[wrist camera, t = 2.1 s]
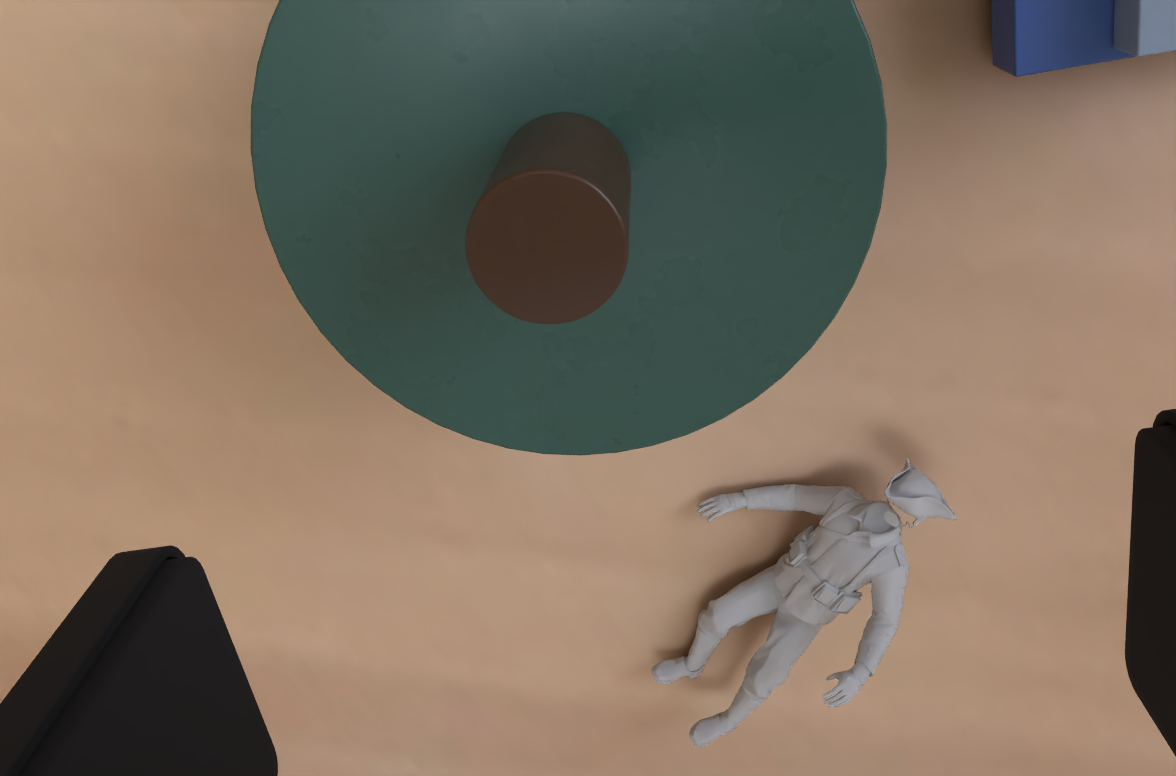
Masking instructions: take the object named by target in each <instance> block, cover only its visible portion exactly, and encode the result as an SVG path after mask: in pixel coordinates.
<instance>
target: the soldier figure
mask: <svg viewBox="0 0 1176 776" xmlns="http://www.w3.org/2000/svg"><path fill="white" fill-rule="evenodd" d="M884 494H885V496H886V497H887V498H888V499H889V500H890V501H891V502H893V504H895V505H896V506H897V507H898V508H899V509H901V510H902V511H904V512H905V513H907V514H909V515H912V516H913V517H915V518H916V520H917V521H916V520H915V521H916V522H915V526H916V525H917V524H918V523H920V522H922V521H923V520H924V519H926V518H946V519H951V520H956V518H955V514H954V512H953V511H952V509H951V508H950V507H949V505H948V504H947V503H946V501H945V499H944V497H943V495H942V493H941V491H940V490H939V488H938V487H937V485H936V484H935V483H934V482H933V481H932V480H931V479H930V478H929V477H928V476H927V475H925V474H924V473H923V472H921V471H919V470H918V469H917V468H915V467H914V466H913V465H911V464H910V460H909V459H907V460H906V464H905V467H904V468H903V470H902V471H901V472H900V473H898V474H896V475H895V476H894V477H893V478H892V480H891V481H890V482H889V483H888V485H887V489H886V490H885V492H884ZM888 499H887V500H888ZM707 503H708V504H707ZM705 504H706V505H705ZM703 505H704V506H703ZM701 506H703V507H701ZM714 506H715V507H714ZM697 507H701V508H700V509H698V510H697V512H698V513H699V512H702V511H704V510H705V509H708V508H711V507H713V508H711V509H709V510H707V511H705V512H703V513H702V514H701V515H700V517H701V518H702V517H704V516H707V515H709V514H711V513H713V512H716V511H718V512H716V513H714V514H713V515H711V516H710V517H709V518H707V521H708V522H709V521H711V520H713V519H715V518H716V517H718V516H720V515H722V514H725V513H728V512H731V511H734V510H736V509H739V508H742V507H746V509H747V510H757V509H758V510H770V509H772V510H778V511H793V510H798V511H802V510H803V511H806V512H810V513H813V514H815V515H822V516H823V517H822V519H821V520H820V524H819V525H818V526H817V528H816V529H814V527H813V525H811V526H809V527H808V528H806V529H805V530H803V531H802V532H801V533H800V534H798V535H797V536H796V537H795V539H794V540H793V542H792V543H791V544H790V547H791V549H790V550H789V553H786V554H784V555H783V556H781V557H780V559H779V560H778V562H777V564H775V565H773V566H771V567H769V568H767V569H765V570H763V571H761V572H760V573H758V574H756V575H755V576H753V577H751V578H750V579H748V580H746V581H744V582H741V583H739V584H738V585H737V586H735V587H734V588H733V589H731V590H730V591H729V592H727V593H726V594H725V595H723V596H722V597H720V598H718V599H716V600H711V601H710V602H709V605H708V608H707V610H703V611H702V612H700V614H699V616H698V617H697V621H698V627H697V631H696V636H695V640H694V642H693V644H692V646H691V648H690V650H689V656H683V657H680V658H675V659H667V660H663V661H661V662H660V663H658V664H657V665H655V666H654V667H653V668H652V673H653V676H654V678H655V680H656V681H657V682H659V683H662V684H669V683H672V682H673V681H675V680H677V679H679V678H681V677H685V676H687V677H688V678H696V677H697V676H699V674H700V673H701V672H702V671H703V669H704V666H705V662H706V661H707V659H708V658H709V656H710V654H711V653H712V651H713V650H714V648H715V647H716V646H717V645H718V644H719V642H720V641H721V640H722V638H723V637H724V636H725V635H727V634H728V631H729V628H730V627H733V626H736V627H737V626H742V625H743V624H745V623H746V622H748V621H749V620H750V619H752V618H754V617H757V616H762V615H765V614H768V613H772V612H776V611H777V612H776V615H775V618H774V621H773V623H772V626H771V629H770V631H769V634H768V637H767V640H766V642H765V644H764V645H763V646H762V647H761V648H760V649H759V650H758V651H757V652H756V653H755V655H754V656H753V658H752V659H751V661H750V663H749V664H748V667H747V669H746V676H745V678H744V681H743V683H742V686H741V687H740V689H739V691H738V693H737V694H736V696H735V698H734V700H733V702H732V704H731V706H730V707H729V709H728V710H726V711H725V712H721V713H718V714H716V715H714V716H712V717H709V718H705V719H702V720H700V721H698V722H697V723H696V724H694V725H693V727H692V728H691V729H690V732H689V735H690V738H691V740H692V742H693V743H694V745H696V746H697V747H703V746H706V745H708V744H709V743H710V742H712V741H713V740H714V739H716V738H717V737H719V736H721V735H723V734H727V733H730V732H732V731H733V730H734V729H736V727H737V725H738V723H740V721H741V720H743V719H745V718H746V717H747V716H748V715H749V713H751V712H752V711H753V710H754V709H756V708H757V707H758V706H760V705H761V704H762V703H763V702H764V701H765V700H766V699H767V697H768V696H769V694H770V693H771V692H772V691H773V690H774V689H775V688H776V687H777V686H779V685H781V684H782V683H784V681H785V680H786V679H787V677H788V675H789V672H790V669H791V666H792V665H793V664H794V663H795V662H796V661H797V659H798V658H799V657H800V656H801V655H802V653H803V652H804V651H805V649H806V648H807V647H808V645H809V644H810V643H811V641H812V640H813V639H814V637H815V636H816V635H817V633H818V631H819V630H820V628H821V626H822V625H824V624H828V623H830V622H831V621H833V620H834V618H835V617H836V616H837V614H838V613H845V614H847V613H848V612H849V611H850V610H851V609H852V608H853V607H854V606H855V605H856V604H857V603H858V602H859V601H860V600H861V598H860V597H861V596H862V594H861V592H856V591H857V590H858V589H860V588H861V587H862V586H864V585H866V584H868V583H872V589H871V593H872V602H873V611H872V616H871V618H870V619H869V620H868V622H867V625H866V627H865V628H864V631H863V636H862V639H861V641H860V643H859V646H858V652H857V655H856V659H855V662H854V663H855V665H854V666H853V667H852V668H851V669H850V670H847V671H843V672H837V673H834V674H832V675H830V676H829V677H827V679H826V680H832V679H834V678H837V679H838V680H839V682H838V685H837V686H836V687H834V688H833V689H832V690H831V691H829V692H827V693H825V694H823V695H822V698H827V697H830V696H832V695H834V694H836V693H837V692H838V693H837V694H836V695H835V696H833V697H831V698H829V699H827V700H825V701H824V704H828V703H829V704H828V705H827V706H828V707H832V706H833V707H838V706H841V705H843V704H845V703H846V702H848V701H849V700H851V699H852V698H853V697H854V696H855V695H856V694H857V693H858V691H859V689H860V688H861V686H863V684H864V683H865V682H866V681H867V679H868V677H869V676H873V674H874V671H875V669H876V667H877V666H878V664H879V662H880V660H881V658H882V657H883V655H884V653H885V651H886V650H887V648H888V646H889V644H890V641H891V640H892V638H893V637H894V635H895V631H896V630H897V628H898V624H899V618H900V613H901V611H902V605H903V591H904V589H905V588H906V581H907V574H908V571H909V563H908V560H907V557H906V554H905V551H904V547H903V545H902V542H901V540H902V534H901V532H900V527H901V531H902V526H901V520H900V517H899V515H898V514H897V513H896V512H895V511H894V510H893V509H892V507H891V506H890V505H889V502H888V503H887V502H885V501H873V500H868V499H865V498H864V497H863V495H862V494H860V493H858V492H857V491H856V490H855V489H854V488H852V487H850V486H848V487H844V486H842V487H836V486H827V487H825V486H816V485H810V486H807V485H797V484H785V485H781V486H778V485H774V486H764V487H758V488H752V489H743V490H742V491H741V492H739V493H738V492H735V493H731V494H720V495H717V496H714V497H711V498H709V499H706V500H704V501H702V502H701V503H699V504H698V505H697ZM908 524H909V523H908ZM906 525H907V522H906ZM906 525H905V526H906ZM913 525H914V522H913ZM903 526H904V525H903ZM912 527H913V526H912ZM912 527H911V528H912ZM909 528H910V525H909ZM837 699H838V700H837ZM835 700H836V701H835ZM832 701H834V702H832ZM830 702H831V703H830Z"/></svg>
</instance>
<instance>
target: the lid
mask: <svg viewBox="0 0 1176 776" xmlns="http://www.w3.org/2000/svg"><path fill="white" fill-rule="evenodd" d="M251 155H252V163H253V172H254V180H255V188H256V193H257V197H258V201H259V205H260V209H261V213H262V217H263V221H264V225H265V229H266V231H267V234H268V236H269V239H270V241H271V244H272V247H273V249H274V252H275V254H276V257H277V259H278V262H279V265H280V267H281V269H282V271H283V272H284V274H285V276H286V278H287V280H288V282H289V284H290V285H291V287H292V289H293V291H294V293H295V295H296V297H297V299H298V300H299V302H300V303H301V305H302V306H303V307H304V309H305V310H306V312H307V313H308V315H309V316H310V317H311V319H312V320H313V322H314V323H315V325H316V326H317V327H318V329H319V330H320V332H321V333H322V334H323V335H324V336H325V337H326V338H327V340H328V341H329V342H330V343H331V344H332V345H333V346H334V347H335V349H336V350H337V351H338V352H339V353H340V354H341V355H342V356H343V357H344V359H345V360H346V361H347V362H348V363H350V364H351V365H352V366H353V367H354V368H355V369H356V370H357V371H359V372H360V373H361V374H362V375H363V376H364V377H365V378H367V379H368V380H369V381H370V382H371V383H372V384H373V385H374V386H376V387H377V388H379V389H380V390H382V391H383V392H384V393H386V394H387V395H389V396H390V397H392V398H393V399H394V400H396V401H397V402H399V403H400V404H402V405H403V406H404V407H406V408H408V409H410V410H412V411H413V412H415V413H417V414H419V415H421V416H423V417H425V418H426V419H428V420H430V421H432V422H434V423H436V424H438V425H440V426H442V427H445V428H447V429H450V430H452V431H455V432H457V433H460V434H462V435H465V436H467V437H470V438H472V439H476V440H480V441H483V442H487V443H491V444H494V445H498V446H502V447H505V448H509V449H516V450H522V451H529V452H535V453H542V454H561V455H591V454H604V453H617V452H622V451H628V450H633V449H638V448H643V447H648V446H653V445H656V444H660V443H663V442H666V441H669V440H672V439H675V438H678V437H681V436H685V435H688V434H690V433H692V432H694V431H697V430H699V429H701V428H703V427H705V426H708V425H710V424H712V423H714V422H716V421H719V420H721V419H723V418H724V417H726V416H728V415H729V414H731V413H733V412H734V411H736V410H738V409H739V408H741V407H742V406H744V405H746V404H747V403H749V402H751V401H752V400H754V399H755V398H756V397H758V396H759V395H760V394H762V393H763V392H764V391H765V390H767V389H768V388H769V387H770V386H772V385H773V384H774V383H775V382H777V381H778V380H779V379H781V378H782V377H783V376H784V375H785V374H786V373H787V372H788V371H789V370H790V369H791V368H792V367H793V366H794V365H795V364H796V363H797V362H798V361H799V360H800V359H801V358H802V357H803V356H804V355H805V354H806V353H807V352H808V351H809V350H810V349H811V348H812V346H813V345H814V344H815V342H816V341H817V340H818V339H819V337H820V336H821V335H822V333H823V332H824V331H825V329H826V328H827V327H828V326H829V324H830V323H831V322H832V320H833V319H834V318H835V316H836V314H837V313H838V311H839V309H840V307H841V306H842V304H843V302H844V301H845V299H846V297H847V295H848V294H849V292H850V290H851V289H852V287H853V285H854V283H855V281H856V279H857V276H858V274H859V271H860V269H861V267H862V264H863V262H864V260H865V257H866V255H867V253H868V250H869V248H870V245H871V241H872V237H873V234H874V230H875V227H876V223H877V219H878V216H879V212H880V209H881V202H882V195H883V188H884V181H885V174H886V167H887V122H886V114H885V107H884V99H883V91H882V83H881V79H880V75H879V71H878V68H877V64H876V60H875V56H874V53H873V49H872V45H871V42H870V38H869V36H868V34H867V31H866V29H865V27H864V24H863V22H862V20H861V17H860V15H859V12H858V10H857V8H856V5H855V3H854V1H853V0H279V3H278V5H277V7H276V9H275V12H274V14H273V16H272V18H271V21H270V23H269V26H268V29H267V33H266V36H265V40H264V43H263V47H262V50H261V54H260V57H259V61H258V64H257V70H256V77H255V84H254V91H253V98H252V105H251Z"/></svg>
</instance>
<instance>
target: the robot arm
mask: <svg viewBox="0 0 1176 776" xmlns="http://www.w3.org/2000/svg"><path fill="white" fill-rule="evenodd" d="M1125 660H1126V666H1127V671H1128V675H1129V678H1130V681H1131V683H1132V686H1133V688H1134V690H1135V692H1136V694H1137V695H1138V697H1139V699H1140V700H1141V702H1142V703H1143V705H1144V707H1145V708H1146V710H1147V711H1148V713H1149V715H1150V716H1151V718H1152V719H1153V721H1154V723H1155V724H1156V726H1157V727H1158V729H1159V731H1160V732H1161V734H1162V735H1163V737H1164V738H1165V740H1166V742H1167V743H1168V745H1169V746H1170V748H1171V750H1172V751H1173V753H1174V754H1175V756H1176V409H1171V410H1164V411H1161V412H1160V413H1159V414H1158V415H1157V416H1156V419H1155V421H1154V423H1153V427H1152V428H1144V429H1141V430H1140V431H1139V432H1138V434H1137V437H1136V442H1135V456H1134V476H1133V497H1132V517H1131V538H1130V558H1129V579H1128V599H1127V620H1126V640H1125ZM277 774H278V762H277V755H276V751H275V748H274V745H273V743H272V740H271V738H270V735H269V733H268V730H267V728H266V725H265V723H264V720H263V718H262V715H261V713H260V710H259V707H258V705H257V702H256V700H255V697H254V695H253V692H252V690H251V687H250V685H249V682H248V680H247V677H246V675H245V672H244V670H243V667H242V665H241V662H240V660H239V657H238V655H237V652H236V650H235V647H234V645H233V642H232V640H231V637H230V635H229V632H228V630H227V627H226V624H225V622H224V619H223V617H222V614H221V612H220V609H219V607H218V604H217V602H216V599H215V597H214V594H213V592H212V589H211V587H210V584H209V582H208V579H207V577H206V574H205V572H204V569H203V567H202V565H201V564H200V562H199V561H198V560H197V559H196V558H193V557H185V555H184V554H183V553H182V552H181V551H180V550H179V549H178V548H177V547H174V546H164V547H157V548H149V549H142V550H134V551H127V552H121V553H117V554H115V555H114V556H113V557H112V558H111V559H110V560H109V561H108V562H107V564H106V565H105V566H104V568H103V569H102V570H101V572H100V573H99V574H98V576H97V577H96V578H95V580H94V581H93V582H92V584H91V585H90V586H89V588H88V589H87V590H86V592H85V593H84V594H83V595H82V597H81V598H80V599H79V601H78V602H77V603H76V605H75V606H74V607H73V609H72V610H71V611H70V613H69V614H68V615H67V617H66V618H65V619H64V621H63V622H62V623H61V625H60V626H59V627H58V628H57V630H56V631H55V632H54V634H53V635H52V636H51V638H50V639H49V640H48V642H47V643H46V644H45V646H44V647H43V648H42V650H41V651H40V652H39V654H38V655H37V656H36V658H35V659H34V660H33V661H32V663H31V664H30V665H29V667H28V668H27V669H26V671H25V672H24V673H23V675H22V676H21V677H20V679H19V680H18V681H17V683H16V684H15V685H14V687H13V688H12V689H11V691H10V692H9V693H8V694H7V696H6V697H5V698H4V700H3V701H2V702H1V704H0V776H277Z"/></svg>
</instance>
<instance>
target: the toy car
mask: <svg viewBox="0 0 1176 776" xmlns="http://www.w3.org/2000/svg"><path fill="white" fill-rule="evenodd" d="M991 8H992V62H993V65H994V66H996V67H998V68H1000V69H1002V70H1004V71H1006V72H1008V73H1010V74H1011V75H1013V76H1016V77H1018V76H1024V75H1030V74H1036V73H1042V72H1047V71H1053V70H1059V69H1065V68H1071V67H1077V66H1083V65H1089V64H1094V63H1100V62H1106V61H1112V60H1118V59H1124V58H1130V57H1136V56H1137V57H1142V56H1148V55H1154V54H1159V53H1165V52H1171V51H1176V0H991Z"/></svg>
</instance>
